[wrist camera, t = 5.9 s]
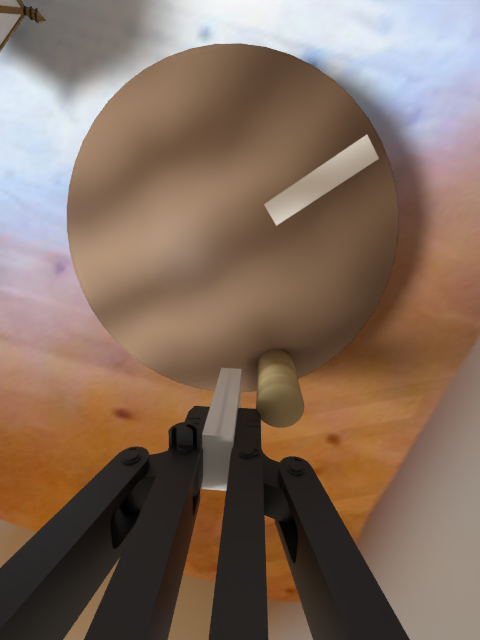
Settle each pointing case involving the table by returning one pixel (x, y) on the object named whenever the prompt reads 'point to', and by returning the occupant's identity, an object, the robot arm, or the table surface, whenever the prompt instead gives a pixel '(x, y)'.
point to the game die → (14, 17)
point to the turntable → (233, 220)
